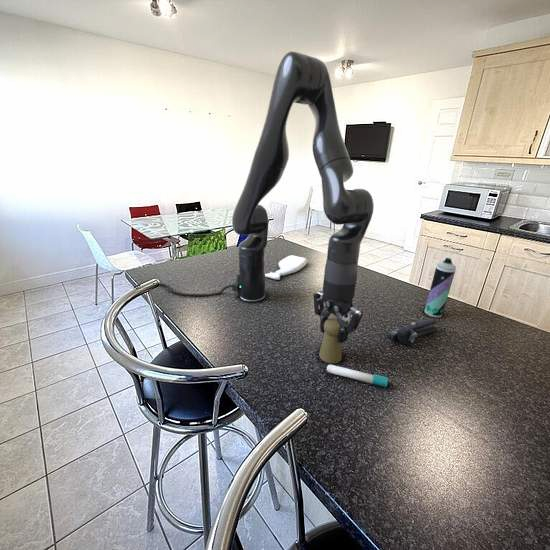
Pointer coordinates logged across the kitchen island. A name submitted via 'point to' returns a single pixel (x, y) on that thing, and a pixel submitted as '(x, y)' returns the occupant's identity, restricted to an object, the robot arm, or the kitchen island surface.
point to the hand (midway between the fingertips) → (332, 336)
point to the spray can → (440, 288)
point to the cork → (331, 342)
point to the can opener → (412, 331)
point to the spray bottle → (288, 266)
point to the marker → (358, 375)
